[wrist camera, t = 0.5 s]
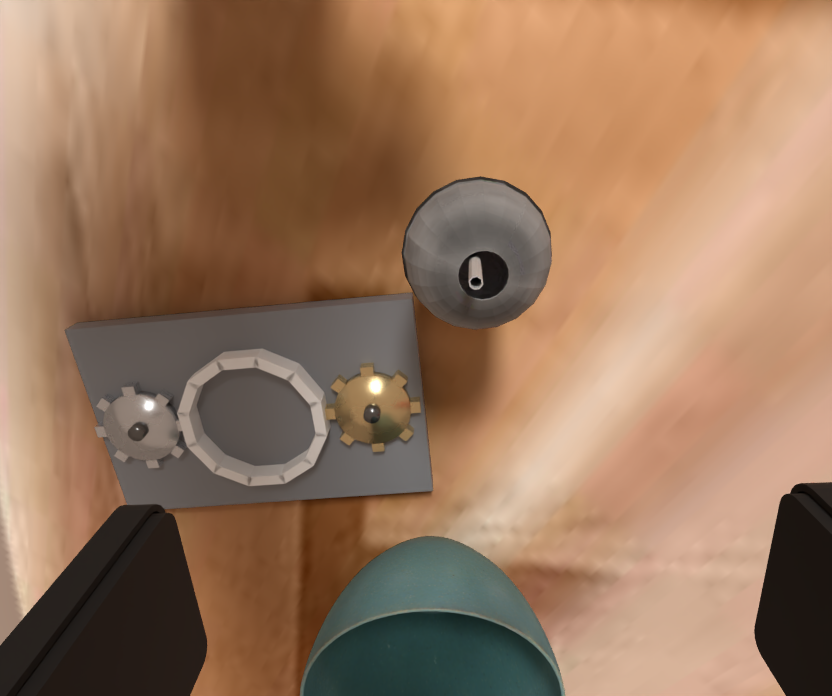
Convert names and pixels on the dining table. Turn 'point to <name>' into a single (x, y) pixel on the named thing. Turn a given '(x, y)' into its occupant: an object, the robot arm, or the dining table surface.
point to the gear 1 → (141, 425)
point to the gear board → (260, 399)
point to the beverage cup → (477, 252)
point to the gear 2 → (373, 407)
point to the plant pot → (431, 630)
